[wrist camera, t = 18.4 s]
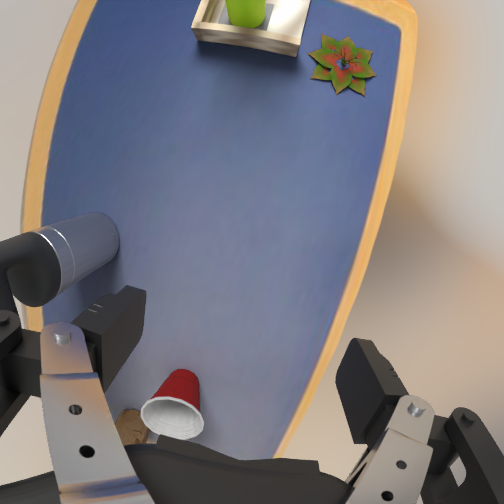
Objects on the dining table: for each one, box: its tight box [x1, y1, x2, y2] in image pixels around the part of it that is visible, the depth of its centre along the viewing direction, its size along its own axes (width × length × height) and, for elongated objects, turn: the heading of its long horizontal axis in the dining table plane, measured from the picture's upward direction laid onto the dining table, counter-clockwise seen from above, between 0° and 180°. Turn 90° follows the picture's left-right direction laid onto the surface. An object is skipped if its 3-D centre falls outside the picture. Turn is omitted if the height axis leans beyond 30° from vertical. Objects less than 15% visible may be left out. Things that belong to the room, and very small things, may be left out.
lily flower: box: [308, 34, 376, 96], centre depth 38 cm, size 12×12×5 cm
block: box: [115, 409, 150, 445], centre depth 49 cm, size 11×8×20 cm
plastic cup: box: [141, 369, 204, 440], centre depth 48 cm, size 11×11×12 cm
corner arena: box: [191, 0, 310, 57], centre depth 35 cm, size 16×16×5 cm
